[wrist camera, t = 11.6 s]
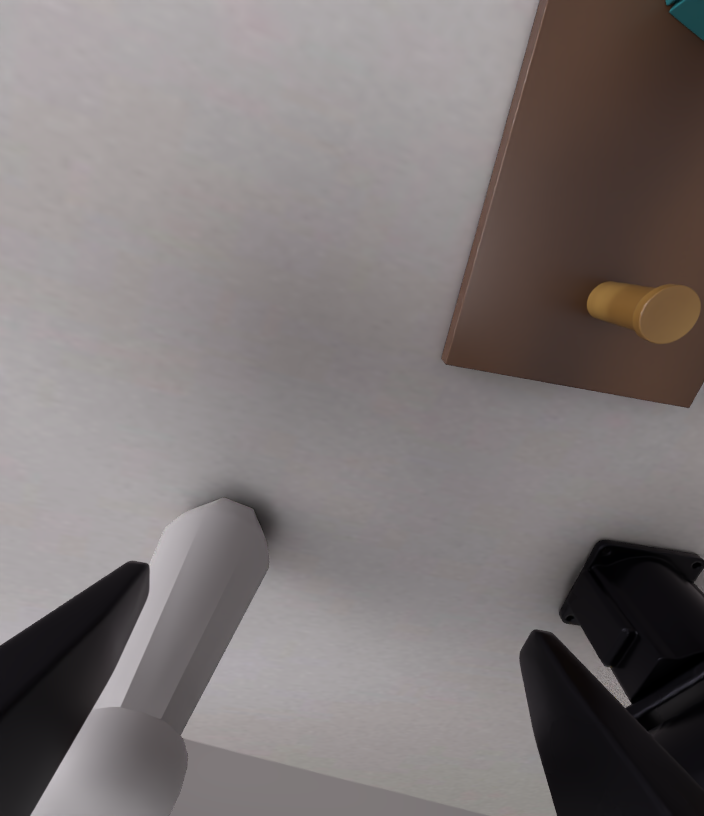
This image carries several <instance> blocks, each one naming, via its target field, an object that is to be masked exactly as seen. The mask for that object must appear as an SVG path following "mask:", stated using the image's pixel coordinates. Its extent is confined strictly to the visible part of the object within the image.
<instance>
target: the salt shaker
mask: <svg viewBox="0 0 704 816" xmlns="http://www.w3.org/2000/svg"><path fill="white" fill-rule="evenodd" d="M149 567H150V589H149V595H148V598H147V601H146V603H145V605H144V607H143V610H142V612H141V614H140V616H139V618H138V620H137V623H136V625H135V627H134V629H133V631H132V633H131V636H130V638H129V640H128V642H127V644H126V646H125V649H124V651H123V653H122V655H121V657H120V659H119V662H118V664H117V666H116V668H115V670H114V672H113V674H112V676H111V678H110V679H109V681H108V683H107V685H106V687H105V688H104V690H103V692H102V694H101V695H100V697H99V699H98V700H97V702H96V704H95V706H94V707H93V709H92V711H91V712H90V714H89V716H88V718H87V719H86V721H85V723H84V725H83V726H82V728H81V730H80V731H79V733H78V735H77V737H76V738H75V740H74V742H73V743H72V745H71V747H70V749H69V750H68V752H67V754H66V755H65V757H64V759H63V761H62V762H61V764H60V766H59V768H58V769H57V771H56V773H55V774H54V776H53V778H52V780H51V781H50V783H49V785H48V786H47V788H46V790H45V792H44V793H43V795H42V797H41V799H40V800H39V802H38V804H37V805H36V807H35V809H34V811H33V812H32V814H31V816H169V815H170V813H171V811H172V809H173V806H174V805H175V803H176V800H177V798H178V796H179V794H180V791H181V788H182V784H183V781H184V777H185V773H186V770H187V761H188V753H187V750H186V746H185V743H184V740H183V738H182V737H181V736H180V735H181V734H182V732H183V730H184V728H185V726H186V724H187V722H188V720H189V718H190V717H191V715H192V713H193V711H194V709H195V707H196V705H197V703H198V701H199V699H200V698H201V696H202V694H203V692H204V690H205V688H206V686H207V684H208V682H209V680H210V679H211V677H212V675H213V673H214V671H215V669H216V667H217V665H218V663H219V661H220V660H221V658H222V656H223V654H224V652H225V650H226V648H227V646H228V644H229V642H230V641H231V639H232V637H233V635H234V633H235V631H236V629H237V627H238V625H239V623H240V622H241V620H242V618H243V616H244V614H245V612H246V610H247V608H248V606H249V604H250V603H251V601H252V599H253V597H254V595H255V593H256V591H257V589H258V587H259V586H260V584H261V582H262V580H263V578H264V576H265V574H266V572H267V570H268V568H269V553H268V545H267V540H266V538H265V536H264V533H263V531H262V529H261V526H260V524H259V522H258V519H257V517H256V514H255V511H254V509H252V508H250V507H247V506H245V505H242V504H240V503H237V502H234V501H232V500H229V499H227V498H224V497H223V498H220V499H218V500H215V501H213V502H211V503H208V504H205V505H202V506H200V507H197V508H194V509H191V510H189V511H186V512H185V513H183V514H182V515H181V516H179V517H178V518H176V519H175V520H174V521H172V522H171V523H170V524H169V525H168V526H166V527H165V528H164V530H163V533H162V535H161V538H160V540H159V543H158V545H157V548H156V550H155V553H154V555H153V558H152V560H151V562H150V565H149Z"/></svg>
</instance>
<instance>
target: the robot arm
mask: <svg viewBox="0 0 704 816" xmlns="http://www.w3.org/2000/svg"><path fill="white" fill-rule="evenodd" d="M703 568H704V560H703V559H702V558H701V557H700V556H699V555H697V554H692V553H686V552H679V551H673V550H667V549H660V548H654V547H648V546H642V545H635V544H629V543H623V542H616V541H610V540H602V541H599V542H598V543H597V544H596V545H595V546H594V548H593V550H592V552H591V554H590V556H589V558H588V559H587V561H586V563H585V565H584V567H583V569H582V571H581V572H580V574H579V576H578V578H577V580H576V582H575V584H574V586H573V587H572V589H571V591H570V593H569V595H568V597H567V599H566V600H565V602H564V604H563V606H562V608H561V610H560V612H559V615H560V617H561V619H562V621H563V622H564V623H566V624H573V625H579V626H581V627H582V629H583V631H584V632H585V634H586V636H587V638H588V639H589V641H590V643H591V644H592V646H593V648H594V650H595V651H596V653H597V655H598V657H599V658H600V660H601V662H602V663H603V664H604V666H606V667H610V668H611V670H612V672H613V673H614V675H615V677H616V678H617V680H618V682H619V683H620V685H621V687H622V688H623V690H624V692H625V694H626V695H627V697H628V699H629V700H630V702H631V703H632V704H631V705H630V706H628V707H626V708H624V706H623V705H622V704H621V703H620V702H619V701H618V700H617V699H616V698H615V697H614V696H613V695H612V694H611V693H610V692H609V691H608V690H607V689H606V688H605V687H604V686H603V685H602V684H601V683H600V682H599V681H598V680H597V678H596V677H595V676H594V675H593V674H592V673H591V672H590V671H589V670H588V669H587V668H586V667H585V666H584V665H583V664H582V663H581V662H580V661H579V660H578V659H577V658H576V657H575V656H574V655H573V654H572V653H571V652H570V651H569V649H568V648H567V647H566V646H565V645H564V644H563V643H562V642H561V641H560V640H559V639H558V638H557V637H556V636H555V635H554V634H553V633H551V632H548V631H543V630H533V631H532V632H531V633H530V635H529V637H528V638H527V640H526V642H525V644H524V646H523V647H522V649H521V651H520V657H519V659H520V667H521V672H522V677H523V682H524V687H525V692H526V697H527V702H528V707H529V712H530V717H531V722H532V727H533V731H534V736H535V740H536V743H537V747H538V751H539V754H540V758H541V761H542V765H543V768H544V772H545V775H546V779H547V782H548V786H549V789H550V792H551V796H552V799H553V803H554V806H555V810H556V813H557V816H704V593H703V592H702V591H701V590H700V589H699V588H698V587H697V586H696V585H695V584H694V581H695V580H696V578H697V577H698V576H699V574H700V573H701V571H702V570H703ZM149 589H150V567H149V565H148V564H147V563H143V562H137V561H129V562H127V563H125V564H124V565H122V566H121V567H119V568H117V569H116V570H114V571H113V572H111V573H110V574H108V575H107V576H105V577H104V578H102V579H101V580H99V581H98V582H96V583H95V584H93V585H92V586H90V587H89V588H87V589H86V590H84V591H83V592H81V593H79V594H78V595H76V596H75V597H73V598H72V599H70V600H69V601H67V602H66V603H64V604H63V605H61V606H60V607H58V608H57V609H55V610H54V611H52V612H51V613H49V614H48V615H46V616H45V617H43V618H41V619H40V620H38V621H37V622H35V623H34V624H32V625H31V626H29V627H28V628H26V629H25V630H23V631H22V632H20V633H19V634H17V635H16V636H14V637H13V638H11V639H10V640H8V641H7V642H5V643H3V644H2V645H0V816H31V814H32V812H33V811H34V809H35V807H36V805H37V804H38V802H39V800H40V799H41V797H42V795H43V793H44V792H45V790H46V788H47V786H48V785H49V783H50V781H51V780H52V778H53V776H54V774H55V773H56V771H57V769H58V768H59V766H60V764H61V762H62V761H63V759H64V757H65V755H66V754H67V752H68V750H69V749H70V747H71V745H72V743H73V742H74V740H75V738H76V737H77V735H78V733H79V731H80V730H81V728H82V726H83V725H84V723H85V721H86V719H87V718H88V716H89V714H90V712H91V711H92V709H93V707H94V706H95V704H96V702H97V700H98V699H99V697H100V695H101V694H102V692H103V690H104V688H105V687H106V685H107V683H108V681H109V679H110V678H111V676H112V674H113V672H114V670H115V668H116V666H117V664H118V662H119V659H120V657H121V655H122V653H123V651H124V649H125V646H126V644H127V642H128V640H129V638H130V636H131V633H132V631H133V629H134V627H135V625H136V623H137V620H138V618H139V616H140V614H141V612H142V610H143V607H144V605H145V603H146V601H147V598H148V595H149Z"/></svg>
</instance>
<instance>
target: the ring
mask: <svg viewBox="0 0 704 816" xmlns="http://www.w3.org/2000/svg"><path fill="white" fill-rule="evenodd" d="M673 3H674V5H673V6H672V8H671V9H670V11H669V13H670V14H671V15H673V16H674V17H675V18H676V19H678V20H679V21H680V22H681V23H682V24H684V25H685V26H686V27H687V28H688V29H690V30H691V31H692V32H693V33H695V34H696V35H697V36H698V37H699V38H701V39H702V40H703V41H704V0H666V5H667V6H668V5H671V4H673Z"/></svg>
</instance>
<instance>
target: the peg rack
mask: <svg viewBox="0 0 704 816" xmlns="http://www.w3.org/2000/svg"><path fill="white" fill-rule="evenodd" d="M673 5H674V3H673V4H671V5H668V6H667V5H666V0H540V2H539V6H538V9H537V13H536V17H535V20H534V24H533V28H532V31H531V35H530V38H529V42H528V46H527V49H526V53H525V57H524V60H523V64H522V68H521V71H520V75H519V78H518V82H517V86H516V89H515V93H514V97H513V100H512V104H511V107H510V111H509V115H508V118H507V122H506V126H505V129H504V133H503V137H502V140H501V144H500V147H499V151H498V155H497V158H496V162H495V166H494V169H493V173H492V176H491V180H490V184H489V187H488V191H487V195H486V198H485V202H484V206H483V209H482V213H481V216H480V220H479V224H478V227H477V231H476V235H475V238H474V242H473V245H472V249H471V253H470V256H469V260H468V264H467V267H466V271H465V274H464V278H463V282H462V285H461V289H460V293H459V296H458V300H457V304H456V307H455V311H454V314H453V318H452V322H451V325H450V329H449V333H448V336H447V340H446V343H445V347H444V351H443V354H442V360H443V361H444V363H445V364H446V365H452V366H458V367H463V368H469V369H474V370H480V371H485V372H491V373H497V374H502V375H508V376H513V377H519V378H524V379H530V380H536V381H541V382H547V383H552V384H558V385H563V386H569V387H575V388H580V389H586V390H591V391H597V392H602V393H608V394H614V395H619V396H625V397H630V398H636V399H641V400H647V401H653V402H658V403H664V404H669V405H675V406H680V407H686V408H689V407H690V406H691V404H692V402H693V400H694V398H695V397H696V395H697V393H698V391H699V389H700V388H701V386H702V384H703V382H704V41H703V40H702V39H701V38H699V37H698V36H697V35H696V34H695V33H693V32H692V31H691V30H690V29H688V28H687V27H686V26H685V25H684V24H682V23H681V22H680V21H679V20H678V19H676V18H675V17H674V16H673V15H671V14H670V13H669V11H670V9H671V8H672V6H673Z"/></svg>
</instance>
